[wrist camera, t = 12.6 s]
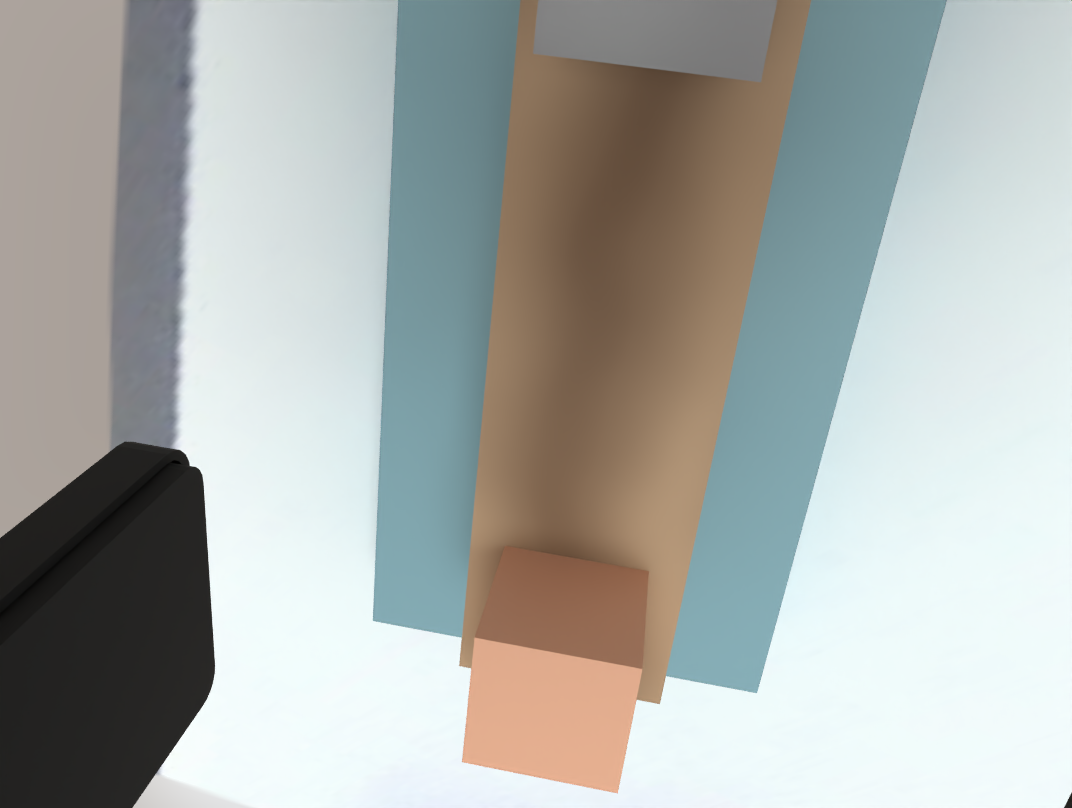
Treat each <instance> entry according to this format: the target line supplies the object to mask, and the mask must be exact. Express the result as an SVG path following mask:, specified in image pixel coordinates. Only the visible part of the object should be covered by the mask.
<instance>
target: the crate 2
mask: <svg viewBox="0 0 1072 808" xmlns="http://www.w3.org/2000/svg"><path fill="white" fill-rule="evenodd" d="M776 4H777V0H538V8H537V18H536V28H535V38H534V49H533V54H539V55H547V56H555V57H563V58H571V59H579V60H587V61H595V62H603V63H611V64H619V65H627V66H635V67H643V68H651V69H659V70H667V71H675V72H683V73H691V74H699V75H707V76H715V77H723V78H730V79H738V80H746V81H754V82H761V79H762V74H763V69H764V64H765V59H766V54H767V49H768V44H769V39H770V34H771V29H772V24H773V19H774V14H775V9H776Z"/></svg>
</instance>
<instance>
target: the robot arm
mask: <svg viewBox="0 0 1072 808" xmlns="http://www.w3.org/2000/svg"><path fill="white" fill-rule="evenodd" d="M214 674H215V659H214V643H213V627H212V612H211V596H210V580H209V564H208V548H207V532H206V517H205V501H204V485H203V477H202V474H201V472H200V470H199V469H198V468H196V467H192V466H190V465H189V461H188V459H187V457H186V455H185V454H184V453H183V452H182V451H180V450H176V449H170V448H164V447H159V446H153V445H147V444H142V443H136V442H124V443H122V444H120V445H118V446H117V447H115V448H114V449H113V450H112V451H110V452H109V453H108V454H107V455H105V456H104V457H103V458H102V459H100V460H99V461H98V462H96V463H95V464H94V465H93V466H91V467H90V468H89V469H88V470H86V471H85V472H84V473H82V474H81V475H80V476H79V477H77V478H76V479H75V480H74V481H72V482H71V483H70V484H68V485H67V486H66V487H65V488H63V489H62V490H61V491H60V492H58V493H57V494H56V495H55V496H53V497H52V498H51V499H49V500H48V501H47V502H46V503H44V504H43V505H42V506H41V507H39V508H38V509H37V510H35V511H34V512H33V513H32V514H30V515H29V516H28V517H26V518H25V519H24V520H23V521H21V522H20V523H19V524H18V525H16V526H15V527H14V528H13V529H11V530H10V531H9V532H7V533H6V534H5V535H4V536H2V537H1V538H0V808H132V807H133V806H134V804H135V803H136V802H137V800H138V799H139V797H140V796H141V794H142V793H143V792H144V790H145V789H146V787H147V786H148V784H149V783H150V781H151V780H152V778H153V777H154V776H155V774H156V773H157V771H158V770H159V768H160V767H161V765H162V764H163V763H164V761H165V760H166V758H167V757H168V755H169V754H170V752H171V751H172V750H173V748H174V747H175V745H176V744H177V742H178V741H179V739H180V738H181V737H182V735H183V734H184V732H185V731H186V729H187V728H188V726H189V725H190V724H191V722H192V721H193V719H194V718H195V716H196V715H197V713H198V712H199V710H200V709H201V708H202V706H203V705H204V703H205V701H206V699H207V697H208V695H209V693H210V690H211V687H212V684H213V680H214ZM1064 808H1072V793H1071V795H1070V797H1069V799H1068V801H1067V803H1066V805H1065V807H1064Z"/></svg>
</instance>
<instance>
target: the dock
mask: <svg viewBox="0 0 1072 808" xmlns="http://www.w3.org/2000/svg"><path fill="white" fill-rule="evenodd" d="M946 1H947V0H811V4H810V8H809V13H808V18H807V22H806V27H805V31H804V36H803V41H802V45H801V50H800V55H799V59H798V64H797V69H796V73H795V78H794V83H793V87H792V92H791V97H790V101H789V106H788V110H787V115H786V120H785V124H784V129H783V134H782V138H781V143H780V148H779V152H778V157H777V162H776V166H775V171H774V175H773V180H772V185H771V189H770V194H769V199H768V203H767V208H766V213H765V217H764V222H763V227H762V231H761V236H760V241H759V245H758V250H757V254H756V259H755V264H754V268H753V273H752V278H751V282H750V287H749V292H748V296H747V301H746V306H745V310H744V315H743V319H742V324H741V329H740V333H739V338H738V343H737V347H736V352H735V357H734V361H733V366H732V371H731V375H730V380H729V385H728V389H727V394H726V398H725V403H724V408H723V412H722V417H721V422H720V426H719V431H718V436H717V440H716V445H715V450H714V454H713V459H712V464H711V468H710V473H709V477H708V482H707V487H706V491H705V496H704V501H703V505H702V510H701V515H700V519H699V524H698V529H697V533H696V538H695V542H694V547H693V552H692V556H691V561H690V566H689V570H688V575H687V580H686V584H685V589H684V594H683V598H682V603H681V608H680V612H679V617H678V621H677V626H676V631H675V635H674V640H673V645H672V649H671V654H670V659H669V663H668V668H667V673H666V676H669V677H674V678H679V679H685V680H690V681H695V682H701V683H706V684H711V685H717V686H722V687H727V688H733V689H738V690H743V691H748V692H754V693H757V691H758V687H759V684H760V680H761V676H762V673H763V669H764V665H765V662H766V658H767V654H768V651H769V647H770V643H771V640H772V636H773V633H774V629H775V625H776V622H777V618H778V614H779V611H780V607H781V603H782V600H783V596H784V592H785V589H786V585H787V581H788V578H789V574H790V570H791V567H792V563H793V559H794V556H795V552H796V549H797V545H798V541H799V538H800V534H801V530H802V527H803V523H804V519H805V516H806V512H807V508H808V505H809V501H810V497H811V494H812V490H813V486H814V483H815V479H816V476H817V472H818V468H819V465H820V461H821V457H822V454H823V450H824V446H825V443H826V439H827V435H828V432H829V428H830V424H831V421H832V417H833V413H834V410H835V406H836V403H837V399H838V395H839V392H840V388H841V384H842V381H843V377H844V373H845V370H846V366H847V362H848V359H849V355H850V351H851V348H852V344H853V340H854V337H855V333H856V329H857V326H858V322H859V319H860V315H861V311H862V308H863V304H864V300H865V297H866V293H867V289H868V286H869V282H870V278H871V275H872V271H873V267H874V264H875V260H876V256H877V253H878V249H879V246H880V242H881V238H882V235H883V231H884V227H885V224H886V220H887V216H888V213H889V209H890V205H891V202H892V198H893V194H894V191H895V187H896V183H897V180H898V176H899V173H900V169H901V165H902V162H903V158H904V154H905V151H906V147H907V143H908V140H909V136H910V132H911V129H912V125H913V121H914V118H915V114H916V110H917V107H918V103H919V99H920V96H921V92H922V89H923V85H924V81H925V78H926V74H927V70H928V67H929V63H930V59H931V56H932V52H933V48H934V45H935V41H936V37H937V34H938V30H939V26H940V23H941V19H942V16H943V12H944V8H945V5H946ZM519 10H520V0H398V22H397V47H396V71H395V95H394V120H393V144H392V169H391V193H390V217H389V242H388V266H387V291H386V315H385V339H384V364H383V388H382V413H381V437H380V461H379V486H378V510H377V535H376V559H375V583H374V608H373V621H377V622H382V623H387V624H392V625H398V626H403V627H408V628H414V629H419V630H424V631H430V632H435V633H440V634H446V635H451V636H456V637H462V631H463V621H464V610H465V599H466V588H467V577H468V566H469V555H470V544H471V533H472V523H473V512H474V501H475V490H476V479H477V468H478V457H479V446H480V435H481V424H482V414H483V403H484V392H485V381H486V370H487V359H488V348H489V337H490V326H491V315H492V305H493V294H494V283H495V272H496V261H497V250H498V239H499V228H500V217H501V207H502V196H503V185H504V174H505V163H506V152H507V141H508V130H509V119H510V108H511V98H512V87H513V76H514V65H515V54H516V43H517V32H518V21H519Z"/></svg>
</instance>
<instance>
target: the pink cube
mask: <svg viewBox="0 0 1072 808" xmlns="http://www.w3.org/2000/svg"><path fill="white" fill-rule="evenodd" d="M648 577H649V571H644V570H639V569H633V568H628V567H622V566H616V565H611V564H605V563H599V562H594V561H588V560H582V559H577V558H571V557H566V556H560V555H554V554H549V553H543V552H537V551H532V550H526V549H520V548H515V547H509V546H505V547H504V550H503V553H502V556H501V559H500V562H499V565H498V568H497V571H496V574H495V577H494V580H493V583H492V586H491V589H490V592H489V595H488V599H487V602H486V605H485V608H484V611H483V614H482V617H481V620H480V623H479V626H478V629H477V632H476V635H475V638H474V648H473V658H472V668H471V678H470V688H469V698H468V708H467V718H466V728H465V738H464V748H463V758H462V762H464V763H469V764H474V765H479V766H484V767H489V768H494V769H499V770H504V771H509V772H514V773H519V774H524V775H529V776H534V777H539V778H544V779H549V780H554V781H559V782H564V783H569V784H574V785H579V786H584V787H589V788H594V789H599V790H604V791H609V792H614V793H618V789H619V784H620V779H621V774H622V769H623V764H624V759H625V754H626V749H627V744H628V739H629V734H630V729H631V724H632V719H633V714H634V709H635V704H636V699H637V694H638V689H639V684H640V679H641V674H642V669H643V655H644V639H645V624H646V608H647V593H648Z"/></svg>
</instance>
